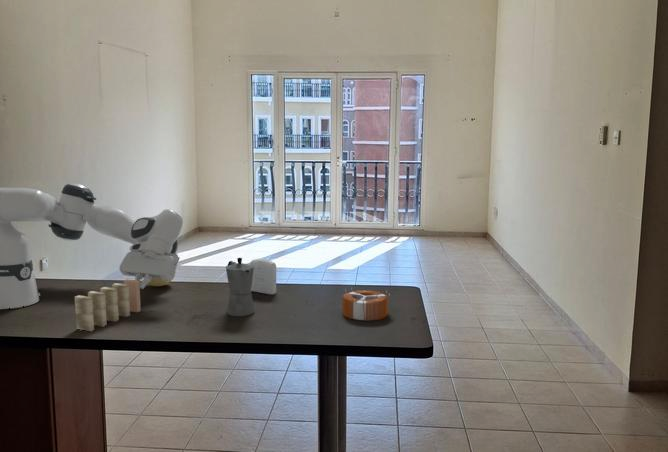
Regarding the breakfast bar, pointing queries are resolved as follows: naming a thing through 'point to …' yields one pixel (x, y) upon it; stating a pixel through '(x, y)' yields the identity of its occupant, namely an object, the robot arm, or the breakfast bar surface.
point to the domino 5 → (134, 295)
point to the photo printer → (264, 276)
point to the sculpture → (159, 281)
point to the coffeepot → (240, 288)
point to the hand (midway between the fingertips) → (138, 287)
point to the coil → (365, 305)
